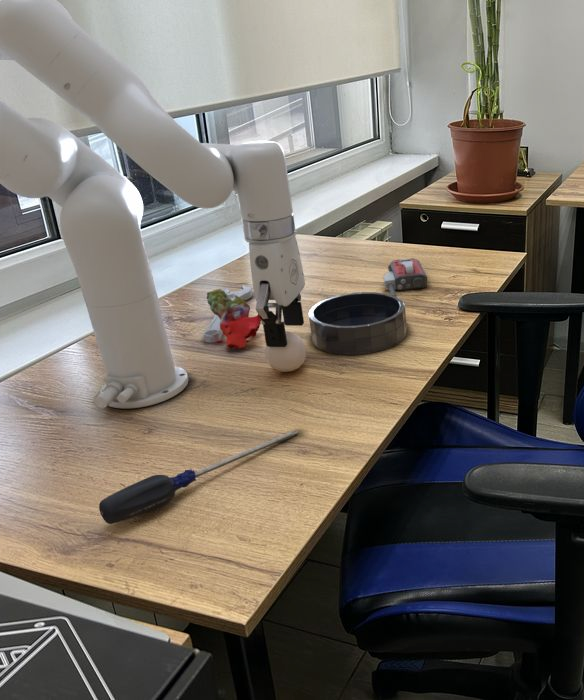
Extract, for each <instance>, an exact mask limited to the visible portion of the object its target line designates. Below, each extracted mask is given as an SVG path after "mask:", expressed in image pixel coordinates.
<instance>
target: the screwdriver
mask: <svg viewBox="0 0 584 700" xmlns="http://www.w3.org/2000/svg"><path fill="white" fill-rule="evenodd" d="M298 433H299V431H298V430H292V431H290V432H287V433H285V434H282V435H280V436H277V437H275V438H273V439H271V440H268V441H265V442H264V443H261V444H259V445H256V446H254V447H251V448H249V449H247V450H244V451H242V452H239V453H237V454H234V455H232V456H230V457H228V458H225V459H223V460H221V461H218V462H216V463H214V464H211V465H209V466H207V467H204V468H202V469H198V470H197V471H195V470H193V469H185V470H184V471H183V472H180V473H177V474H176V475H175V476H172V477H171V476H169V475H166V474H153V475H151V476H148V477H146V478H144V479H142V480H139V481H136V482H134V483H133V484H130V485H128V486H126V487H124V488H122V489H120V490H118V491H116V492H114V493H112V494H110V495H108V496H106V497H104V498H103V499H101V501H100V502H99V504H98V510H99V513H100V516H101V517H102V520H103V521H104V522H105V523H107V524H109V525H113V524H117V523H121V522H123V521H127V520H130V519H132V518H135V517H138V516H140V515H143V514H146V513H149V512H151V511H154V510H156V509H159V508H161V507H164V506H165V505H167V504H168V503H169V502H171V501H172V499H173V498H174V497H175V495H176V492H177V491H178V490H181V489H182V488H186V487H189V485H190V484H192V483H193V482H196V481H197V478H198V477H201V476H203V475H206V474H208V473H210V472H212V471H215V470H218V469H219V468H222V467H225V466H226V465H229V464H231V463H235V462H236V461H238V460H241V459H243V458H246V457H248V456H250V455H252V454H255V453H257V452H259V451H262V450H265V449H267V448H269V447H271V446H273V445H276V444H279V443H281V442H284V441H286V440H288V439H290V438H292V437H294V436H296V435H297V434H298Z"/></svg>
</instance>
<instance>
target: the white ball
mask: <svg viewBox="0 0 584 700" xmlns="http://www.w3.org/2000/svg"><path fill="white" fill-rule="evenodd" d="M286 338H287V345H286V347H268V346H267V345H266V344H265V347H264V357H265V360H266V362H267V363H268V365H269V366H270V367H271V368H273V370H275V371H279V372H281V373H288V372H293V371H295V370H298V369H299V368H300V367H302V365H303V364H304V363H305V361H306V358H307V345H306V344H305V342H304V339H303V338H301V337H300V336H299V335H298V334H296V333H294V332H291V331H287V330H286Z"/></svg>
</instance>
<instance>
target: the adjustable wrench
mask: <svg viewBox="0 0 584 700" xmlns="http://www.w3.org/2000/svg"><path fill="white" fill-rule="evenodd" d="M222 290H223V291H225V293H226V294H227V295H228V297H229V298H230V299H231V300H234V299H235V295H237V296H238V297H239V298H245V301H247V300H249V299H250V298H252V297H253V290H252V287H251V286H249V285H244V284H243V285H241V289H240V290H237V291H232V292H231V291H230V289H229V288H224V289H222ZM220 321H221V320H220V318H219V317H218V315H215V314H214V316H213V318H212V319H211V321H210V323H209V324H208V326H207V327H206V329H205V331H204V332H203V336H204V341H205V342H206V343H216V341H218V340H222V337H223V335H224V334H223V332H222V330H221V329H220ZM218 331H219V332H218Z"/></svg>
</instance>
